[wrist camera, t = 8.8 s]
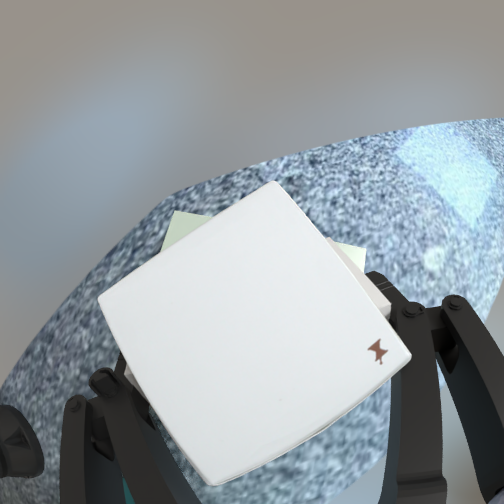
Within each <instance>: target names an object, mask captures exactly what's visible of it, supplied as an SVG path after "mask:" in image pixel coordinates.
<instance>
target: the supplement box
mask: <svg viewBox="0 0 504 504" xmlns="http://www.w3.org/2000/svg"><path fill="white" fill-rule="evenodd" d="M98 302H99V305H100V307H101V309H102V312H103V314H104V316H105V319H106V321H107V323H108V325H109V328H110V330H111V332H112V334H113V336H114V338H115V340H116V342H117V344H118V346H119V348H120V350H121V352H122V354H123V356H124V358H125V360H126V362H127V364H128V366H129V368H130V370H131V371H132V373H133V375H134V377H135V379H136V380H137V382H138V384H139V386H140V387H141V389H142V391H143V392H144V394H145V396H146V397H147V399H148V401H149V403H150V404H151V406H152V408H153V409H154V411H155V413H156V414H157V416H158V417H159V419H160V421H161V422H162V424H163V425H164V427H165V428H166V430H167V431H168V433H169V435H170V436H171V438H172V439H173V440H174V442H175V443H176V445H177V446H178V448H179V449H180V451H181V452H182V453H183V455H184V456H185V457H186V459H187V460H188V461H189V463H190V464H191V465H192V467H193V468H194V469H195V470H196V472H197V473H198V474H199V476H200V477H201V478H202V479H203V481H204V482H205V483H206V484H207V485H209V486H218V485H221V484H223V483H226V482H228V481H230V480H233V479H235V478H237V477H240V476H242V475H244V474H246V473H248V472H250V471H252V470H254V469H256V468H258V467H260V466H262V465H264V464H266V463H268V462H270V461H272V460H274V459H276V458H277V457H279V456H281V455H283V454H285V453H286V452H288V451H290V450H291V449H293V448H295V447H297V446H298V445H300V444H302V443H303V442H305V441H307V440H309V439H310V438H312V437H314V436H316V435H317V434H319V433H320V432H322V431H323V430H325V429H327V428H328V427H329V426H330V425H332V424H333V423H334V422H335V421H337V420H338V419H339V418H341V417H342V416H344V415H345V414H346V413H348V412H349V411H350V410H352V409H353V408H354V407H356V406H357V405H358V404H360V403H361V402H362V401H363V400H365V399H366V398H367V397H368V396H370V395H371V394H372V393H373V392H374V391H376V390H377V389H378V388H379V387H380V386H382V385H383V384H384V383H385V382H386V381H387V380H389V379H390V378H391V377H392V376H393V375H394V374H395V373H396V372H398V371H399V370H400V369H401V368H402V367H403V366H405V365H406V364H407V363H408V362H409V361H410V360H411V355H412V354H411V353H410V352H409V350H408V349H407V347H406V346H405V345H404V343H403V342H402V340H401V339H400V338H399V336H398V335H397V333H396V332H395V331H394V329H393V328H392V326H391V325H390V324H389V322H388V321H387V319H386V318H385V317H384V315H383V314H382V313H381V311H380V310H379V309H378V307H377V306H376V305H375V303H374V302H373V301H372V299H371V298H370V297H369V295H368V294H367V293H366V291H365V290H364V289H363V287H362V286H361V285H360V283H359V282H358V281H357V279H356V278H355V277H354V275H353V274H352V273H351V271H350V270H349V269H348V267H347V266H346V265H345V264H344V262H343V261H342V260H341V258H340V257H339V256H338V254H337V253H336V252H335V251H334V249H333V248H332V247H331V245H330V244H329V243H328V242H327V240H326V239H325V238H324V237H323V236H322V234H321V233H320V232H319V231H318V229H317V228H316V227H315V226H314V225H313V223H312V222H311V221H310V220H309V219H308V217H307V216H306V215H305V214H304V212H303V211H302V210H301V209H300V208H299V207H298V205H297V204H296V203H295V202H294V201H293V199H292V198H291V197H290V196H289V195H288V194H287V193H286V191H285V190H284V189H283V188H282V187H281V186H280V185H279V184H278V183H277V182H276V181H271V182H269V183H267V184H265V185H264V186H262V187H260V188H259V189H257V190H256V191H254V192H253V193H251V194H249V195H248V196H246V197H244V198H243V199H241V200H240V201H238V202H236V203H235V204H233V205H232V206H230V207H228V208H227V209H225V210H224V211H222V212H220V213H219V214H217V215H216V216H214V217H213V218H211V219H209V220H208V221H206V222H205V223H203V224H202V225H200V226H199V227H197V228H196V229H194V230H193V231H191V232H190V233H188V234H187V235H185V236H184V237H182V238H181V239H179V240H178V241H176V242H175V243H173V244H172V245H170V246H169V247H167V248H166V249H164V250H163V251H162V252H160V253H159V254H157V255H156V256H154V257H153V258H151V259H150V260H149V261H147V262H146V263H144V264H143V265H141V266H140V267H139V268H137V269H136V270H134V271H133V272H131V273H130V274H129V275H127V276H126V277H124V278H123V279H122V280H120V281H119V282H118V283H116V284H115V285H113V286H112V287H111V288H109V289H108V290H107V291H105V292H104V293H102V294H101V295H100V296H99V297H98Z"/></svg>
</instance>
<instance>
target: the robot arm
mask: <svg viewBox="0 0 504 504" xmlns="http://www.w3.org/2000/svg"><path fill="white" fill-rule="evenodd" d="M325 239H326V240H327V242H328V243H329V244H330V245H331V247H332V248H333V249H334V251H335V252H336V253H337V254H338V256H339V257H340V258H341V260H342V261H343V262H344V264H345V265H346V266H347V267H348V269H349V270H350V271H351V273H352V274H353V275H354V277H355V278H356V279H357V281H358V282H359V283H360V285H361V286H362V287H363V289H364V290H365V291H366V293H367V294H368V295H369V297H370V298H371V299H372V301H373V302H374V303H375V305H376V306H377V307H378V309H379V310H380V311H381V313H382V314H383V315H384V317H385V318H386V319H387V321H388V322H389V324H390V325H391V326H392V328H393V329H394V331H395V332H396V333H397V335H398V336H399V338H400V339H401V340H402V342H403V343H404V345H405V346H406V347H407V349H408V350H409V352H410V353H411V354H412V355H411V360H410V361H409V362H408V363H407V364H406V365H405V366H403V367H402V368H401V369H400V370H399V371H398V372H396V373H395V374H394V375H393V376H392V377H391V408H390V426H389V439H388V449H387V459H386V466H385V473H384V480H383V486H382V492H381V496H380V500H379V502H378V504H446V497H447V482H446V479H445V478H444V477H443V475H442V450H443V448H442V444H443V443H442V442H443V440H442V413H441V400H440V388H439V379H438V371H437V364H436V360H437V362H438V364H439V367H440V369H441V371H442V374H443V376H444V378H445V381H446V383H447V386H448V388H449V391H450V393H451V396H452V398H453V401H454V404H455V406H456V409H457V412H458V415H459V418H460V421H461V423H462V426H463V429H464V433H465V436H466V439H467V442H468V445H469V449H470V453H471V456H472V460H473V464H474V468H475V472H476V476H477V480H478V484H479V487H480V491H481V493H482V496H483V498H484V500H485V502H486V504H504V356H503V354H502V353H501V351H500V349H499V348H498V346H497V344H496V343H495V341H494V340H493V338H492V336H491V335H490V333H489V332H488V330H487V329H486V327H485V326H484V324H483V323H482V321H481V320H480V318H479V317H478V315H477V314H476V312H475V311H474V310H473V308H472V307H471V305H470V304H469V303H468V301H467V300H466V299H465V298H464V297H461V296H459V295H449V296H446V297H445V298H444V299H443V300H442V305H441V306H438V307H432V308H425V307H424V306H423V305H421V304H420V303H417V302H409V301H408V300H407V299H406V298H405V297H404V296H403V295H402V294H401V293H400V292H399V291H398V290H397V289H396V288H395V287H394V286H393V284H392V283H391V282H390V281H388V279H387V278H386V277H385V276H384V275H382V274H380V273H378V272H376V271H372V272H369V273H366V274H364V273H363V272H362V271H361V270H360V269H359V268H358V266H357V265H356V264H355V263H354V262H353V261H352V260H351V259H350V258H349V257H348V256H347V255H346V254H345V253H344V252H343V251H342V250H341V249H340V248H339V246H338V245H337V244H336V243H335V242H334V241H333V240H332V239H331V238H330V237H328V238H325ZM119 354H120V355H119V357H118V361H117V364H116V367H115V371H114V372H113V370H112V369H110V368H101V369H99V370H97V371H96V372H94V373H93V375H92V376H91V377H90V379H89V386H90V388H91V389H92V390H93V391H94V392H95V393H96V394H97V395H98V396H97V397H95V398H92V399H89V400H87V399H86V398H85V397H84V396H82V395H75V396H73V397H71V398H70V399H69V400H68V401H67V403H66V405H65V408H64V416H63V425H62V436H61V449H60V504H126V499H125V493H124V486H123V479H122V473H123V476H124V479H125V481H126V484H127V486H128V488H129V491H130V493H131V495H132V498H133V500H134V502H135V504H201V502H200V501H199V499H198V498H197V496H196V495H195V493H194V491H193V490H192V488H191V487H190V485H189V484H188V482H187V480H186V479H185V477H184V475H183V474H182V472H181V470H180V469H179V467H178V465H177V463H176V462H175V460H174V458H173V456H172V454H171V453H170V451H169V449H168V447H167V445H166V443H165V441H164V439H163V437H162V435H161V433H160V431H159V429H158V427H157V425H156V423H155V421H154V419H153V417H152V416H151V414H150V413H149V405H150V406H151V404H150V403H149V401H148V399H147V397H146V396H145V394H144V392H143V391H142V389H141V387H140V386H139V384H138V382H137V380H136V379H135V377H134V375H133V373H132V371H131V370H130V368H129V366H128V364H127V362H126V360H125V358H124V356H123V354H122V352H121V350H120V353H119ZM151 407H152V406H151ZM91 437H92V441H91ZM43 470H44V458H43V453H42V450H41V447H40V444H39V442H38V439H37V437H36V435H35V433H34V431H33V430H32V428H31V426H30V425H29V423H28V422H27V420H26V419H25V418H24V416H23V415H22V414H21V413H20V412H19V411H18V410H17V409H16V408H14V407H12V406H10V405H0V478H3V477H7V476H9V477H24V478H34V477H36V476H39V475H41V474H42V472H43Z"/></svg>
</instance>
